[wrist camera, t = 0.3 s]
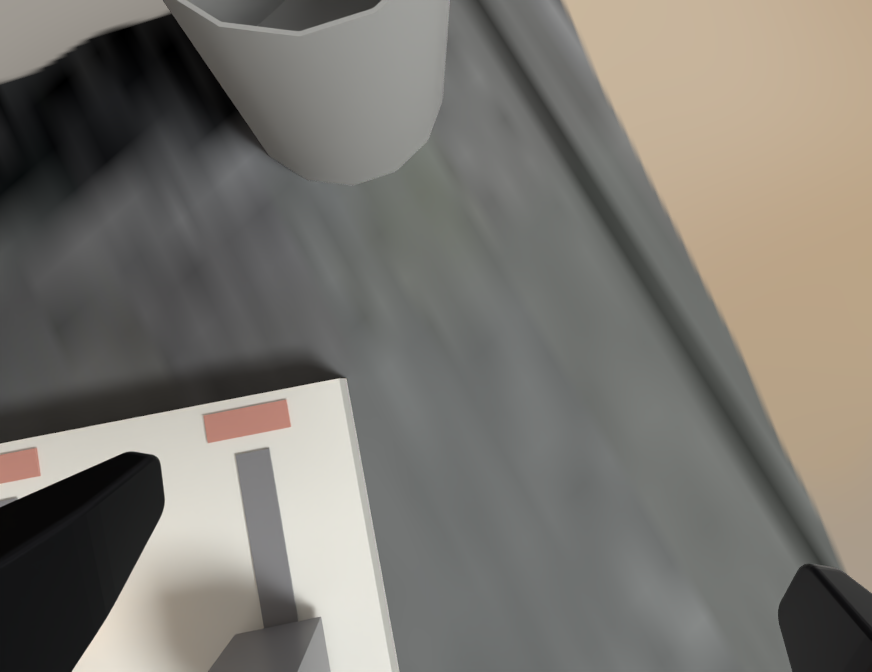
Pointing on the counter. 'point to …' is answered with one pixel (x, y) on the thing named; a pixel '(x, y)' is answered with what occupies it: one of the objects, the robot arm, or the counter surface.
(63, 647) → the robot arm
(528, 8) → the counter surface
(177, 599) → the breaker panel
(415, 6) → the cup
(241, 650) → the switch
